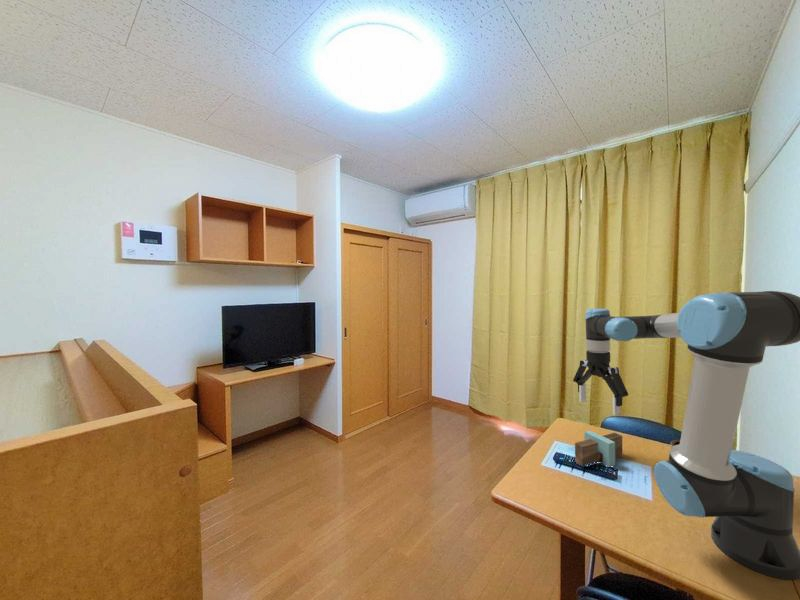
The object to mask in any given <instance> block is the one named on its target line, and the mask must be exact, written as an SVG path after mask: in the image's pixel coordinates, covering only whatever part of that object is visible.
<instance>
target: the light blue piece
mask: <svg viewBox="0 0 800 600" xmlns="http://www.w3.org/2000/svg"><path fill="white" fill-rule="evenodd" d="M583 434H584V436H583V437H584V440H588V439H591V440H593V441H595V442H597V443H598V452H600V453H601V454H603V463H602V465H603V464H604V465H607V466H609V467H611V466H615V467H616V459H615V442H614V441H612V440H609V439H607V438H605V437H603V436H604V435H600V434H599V433H596V432H594V431H592V430H586V431H584V433H583ZM604 465H603V466H604Z"/></svg>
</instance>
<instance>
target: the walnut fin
mask: <svg viewBox="0 0 800 600" xmlns="http://www.w3.org/2000/svg"><path fill="white" fill-rule="evenodd" d="M602 436H603V437H605V438H607V439H609V440H612V441H614V442H615V460H617V459H619V458H622V457H623V435H621V434H619V433H616V432H612V433H608V434H604V435H602ZM574 455H575V456H574V460H575V461H574V463H575V462H576V463H578V464H580V465H581V466H583V465H585V464H588V463H594V462H595V463H597V462H603V454H601V453H600V452H598V443H597V442H595V441H593V440H591V439H588V440H585V439H583V440H581V441H577V442H575V443H574Z"/></svg>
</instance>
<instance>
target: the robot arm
mask: <svg viewBox="0 0 800 600" xmlns="http://www.w3.org/2000/svg"><path fill="white" fill-rule="evenodd" d="M668 338H669V339H670V338H673V339H674V338H681V339H682V340H683V342H684V343H685V344H687V348H686V349H687V350H688V352H689V353H691V354H692V355H693V356H694V361H693V366H692V371H691V377H690V383H689V389H688V395H687V401H686V405H685V412H684V418H683V423H682V428H681V434H680V435H681V436H680V439H679V440H680V444H679V445H675V446H673V447H672V448H671V447H670V450H669V455H668V460H660V461H658V462H656V463H655V465H654V467H653V474H654V480H655V483H656V486H657V487H658V489H659V491H660V493H661V495H662V497H663V499H664V500H666V502H667V503H668V504H669V506H670V507H672V509H674V511H676V512H677V513H679V514H681V515H683V516H687V517H695V518H700V519H701V518H703V519H704V518H713V517H714V518H715V519H714V520H713V522H712V524H711V527H710V536H711V539H712V540H711V541H713V543H714V544H715V546H716V547H717V548H718V549H719V550H720V551H721V552H722V553H724V554H725V555H727V556H728V557H729V558H730V559H732V560H734V561H736V562H737V563H739V564H740V565H742V566H744V567H746V568H748V569H751V570H753V571H755V572H758V573H760V574H762V575H766V576H768V577H773V578H775V579H780V580H782V579H783V580H791V581H792V580H798V579H800V548H799V546H798V543H797V541H796V539H795V536H794V534H793V531H794V530H793V529H794V528H793V526H794V524H793V523H794V505H795V503H794V500H795V498H794V497H795V492H796V489H795V488H794V487H795V486H794V478H793V475H792V474H791V473H790V471H789V470H788V469H786V468H785V467H784V466H782V465H781V464H779V463H776V462H774V461H772V460H770V459H767V458H765V457H762V456H760V455H756V454H753V453H750V452H746V451H741V450H737V449H733V446H734V441H735V438H736V437H735V436H736V431H737V428H738V427H737V426H738V424H739V422H738V421H739V418H740V413H741V409H742V405H743V400H744V395H745V391H746V387H747V386H746V385H747V381H748V377H749V373H750V368H751V367H754V366H756V365H759V364H761V363H762V362H763V360H764V356H765V351H766V347H778V346H780V347H781V346H788V345H793V344H797V343H799V342H800V296H798V295H795V294H794V293H793V294H792V293H790V292H786V291H779V290H777V291H776V290H767V291H764V290H762V291H739V292H738V291H736V292H733V291H732V292H729V291H728V292H724V291H720V292H714V293H706V294H700V295H697V296H695V297H693V298H692V299H690V300H688V301H687V302H686V303H685V304H684V305H683V306H682V307H681V309H680V311H679V312H673V313H666V314H665V313H664V314H663V313H662V314H656V315H655V314H654V315H638V316H636V315H635V316H634V315H633V316H629V315H628V316H612V315H611V312H610V310H609V309H607V308H589V309H587V310H586V311H585V349H586V355H585V357H586V359H584V360H583V359H581V360H580V361H579V366H578V369H577V370H576V371H575V375H574V377H573V379H572V380H573V382H574V383H576V384H577V392H578V393H579V395H578V396H579V397H578V398H579V400H578V401H579V403H584V402H585V403H586V402H587V385H586V382H587V381H588V380H589V379H590V378H591V377H592V376H596V377H599V378H601V379H602V380H604V382H605V383H606V384H607V386H608V387H609V389H610V391H611V392H612V394H613V396H612V415H613V416H617V415H619V416H620V415H621V407H622V406H623V398H624V397H628V396H629V393H628V390H627V388H626V385H625V383H624V381H623V379H622V377H621V375H620V370H619V367H617V366H615V367H612V366H611V365H610V362H611V352H610V351H611V340H613V341H616V342H617V341H618V342H620V341H621V342H629V341H631V340H639V339H668ZM587 368H588V369H587ZM586 369H587V370H586Z"/></svg>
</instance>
